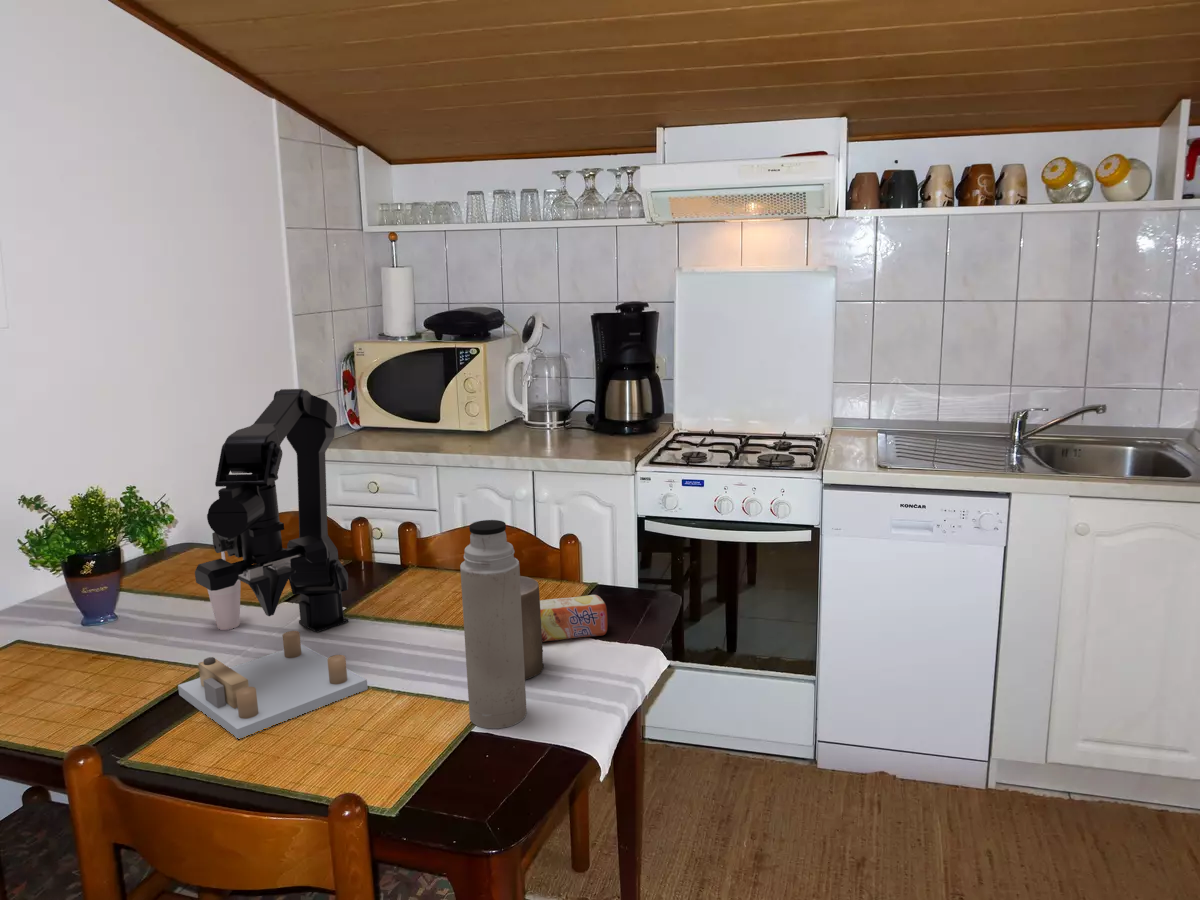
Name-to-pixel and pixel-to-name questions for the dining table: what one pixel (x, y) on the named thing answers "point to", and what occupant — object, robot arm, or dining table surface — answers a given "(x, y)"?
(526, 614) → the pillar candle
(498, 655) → the thermos bottle
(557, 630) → the snack package
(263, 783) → the dining table surface
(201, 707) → the grey peg board
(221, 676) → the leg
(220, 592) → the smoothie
